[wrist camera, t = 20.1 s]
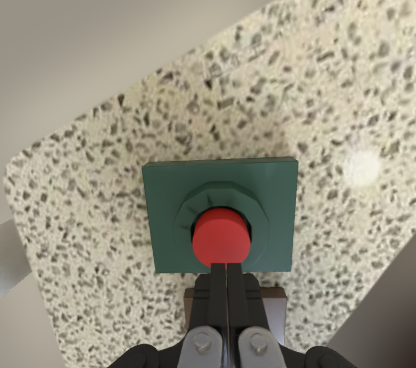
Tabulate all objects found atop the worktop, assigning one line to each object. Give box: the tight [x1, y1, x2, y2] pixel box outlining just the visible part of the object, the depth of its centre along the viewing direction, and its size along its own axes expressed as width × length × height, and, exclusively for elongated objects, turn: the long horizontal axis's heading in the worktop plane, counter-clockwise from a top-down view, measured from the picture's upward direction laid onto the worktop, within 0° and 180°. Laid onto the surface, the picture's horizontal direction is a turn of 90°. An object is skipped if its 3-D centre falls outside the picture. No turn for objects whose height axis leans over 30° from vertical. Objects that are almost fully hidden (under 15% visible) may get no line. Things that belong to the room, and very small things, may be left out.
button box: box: [142, 157, 298, 274], centre depth 17 cm, size 11×9×4 cm
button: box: [192, 208, 250, 269], centre depth 15 cm, size 4×4×2 cm
